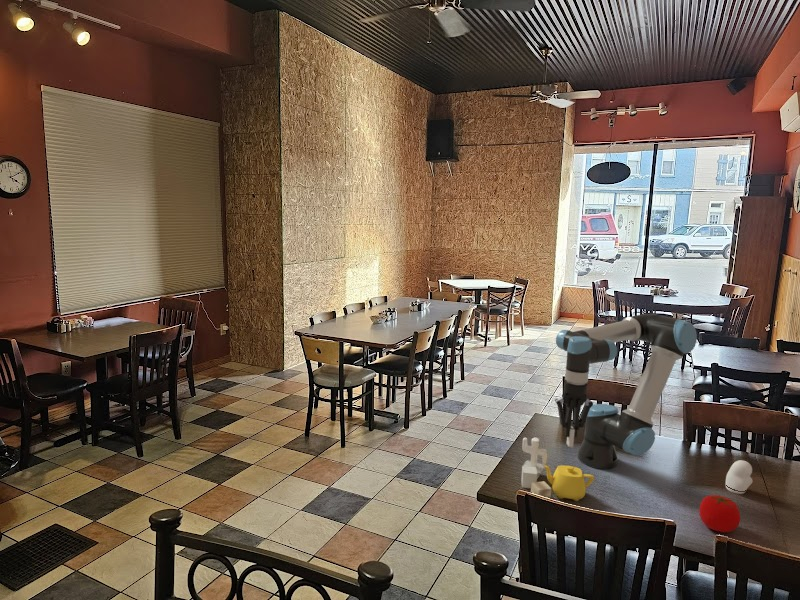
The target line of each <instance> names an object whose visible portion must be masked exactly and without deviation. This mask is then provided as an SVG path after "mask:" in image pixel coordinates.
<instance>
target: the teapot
mask: <svg viewBox="0 0 800 600" xmlns="http://www.w3.org/2000/svg"><path fill="white" fill-rule="evenodd" d="M543 466H544V469H545V470H546V478H547V481H548V483H549V484H551V490H552V492H553V494H555V496H557V499H560V500H562V499H563V500H564V499H569V500H573V501H575V502H579V501H580V500H581V499H583V498H584V497H585V496H586V489H587V488H588V487H590V485H591V484H592V483H594V480H595V476H594V475H593V474H590V473H589V474H588V473H583V470H582V469H581V468H579V467H576V466H572V465H558V466H557V467H556V469H555V471H554V472H553V475H552V473H551V468H550V467H549V466H548V465H546V464H544V465H543ZM585 478H588V481H587V482H586V480H585Z"/></svg>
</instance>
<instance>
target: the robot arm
mask: <svg viewBox="0 0 800 600" xmlns="http://www.w3.org/2000/svg"><path fill="white" fill-rule="evenodd" d="M697 336H698V335H697V329H696V327H695V326H694V325H693V324H692V323H691V322H689V321H686V320H683V319H681V318H676V317H670V316H666V315H661V314H657V313H646V314H645V313H644V314H637V315H633V316H627V317H625V318H623V319H622V320H621V321H620V320H619V321H617V322H611V323H607V324H604V325H598V326H594V327H589V328H588V327H587V328H584V329H581V330H575V331H572V330H570V329H561V330H560V331H559V332H558V333H557V334H556V336H555V344H556V346H557V347H558V348H559V349H561V350H562V351H563V350H564V352H567V354H566V365H565V375H564V384H563V392H562V395H561V397H560V398H556V399H554V401H555V403H556V406H557V411H558V418H559V422H560V423H559V424H560V425H561V427H562V428H564V429H565V430H564V435H565V437H566V445H567V446H568V447H569V448H574V442H575V438H577V436H578V431H579V429H580V428H584V433H583V434H584V436H583V440H582V442H581V444H580V447H579V448H578V450H577V451H578V452H577V458H578V460H579V461H580V462H581V463H583V464H585V465H586V466H589V467H592V468H596V469H604V470H605V469H613V468H615V467H617V465H618V454H617V450H616V448H619V449H621V450H622V451H624V452H625V453H628V454H630V455H633V456H642V455H644V454H645V453H647V452H649V450H650V449H651V448H652V447H653V445H654V443H655V440H656V432H655V431H654V430H653V426H654V423H653V421H652V417H653V415H654V413H655V411H656V408H657V406H658V403H659V401H660V399H661V397H662V395H663V392H664V390H665V388H666V387H665V386H666V384H667V383H668V380H669V378H670V376H671V373H672V370H673V368H674V366H675V363H676V361H678V360H680V359H681V360H682V358H683V356H684V354H689V353H691V352H692V351H693V350H694V349H695V346H696V345H697V344H696V343H697V340H698V338H697ZM623 341H630V342H635V341H640V342H641V341H642V342H646V343H650V345H649V347H650V350H651V354H650V356H649V359H648V361H647V363H646V366H645V367H644V370H643V373H642V375H641V378H640V380H639V382H638V384H637V387H636V389H635V392H634V394H633V396H632V398H631V401H630V404H629V405H628V407H627V408H626V409H623V410H622V411H621V414H619V409H618V407H617V406H615V405H611V404H605V403H596V404H594V402H593V401H592V400H591V399H588V396H587V390H588V382H589V372H590V364H591V365H592V364H598V363H607V362H609V361H613V360H614V359H615V358H616V357H617V355H618V347H617V345H616V344H615V343H618V342H619V343H620V342H623ZM564 403H565V405H566V411H564V407H563V404H564ZM582 406H583V407H582ZM581 407H582V408H581ZM581 409H582V411H581ZM565 413H566V414H565ZM572 417H573V418H572Z"/></svg>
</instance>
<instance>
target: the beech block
mask: <svg viewBox="0 0 800 600" xmlns="http://www.w3.org/2000/svg"><path fill="white" fill-rule="evenodd" d="M531 492H532V493H535V494H538V495H542V496H544V497H548V498H552V497H551V496H552V487H551V486H550V485H549V484H548V483H547V482H546V481H544V480H543V481H537V482H534V483H531V488H530V493H531Z"/></svg>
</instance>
